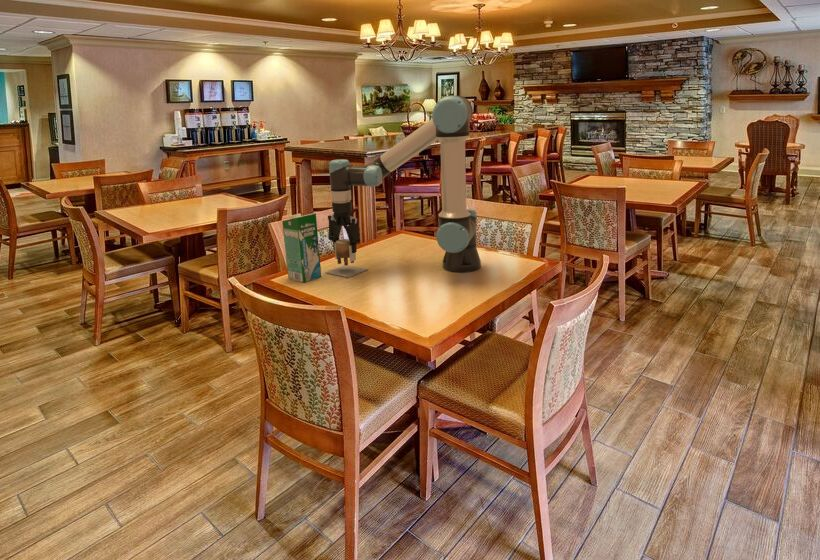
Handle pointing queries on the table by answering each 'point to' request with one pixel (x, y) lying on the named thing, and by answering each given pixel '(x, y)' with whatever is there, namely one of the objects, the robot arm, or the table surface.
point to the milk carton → (302, 247)
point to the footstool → (343, 250)
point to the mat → (346, 271)
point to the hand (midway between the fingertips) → (345, 259)
